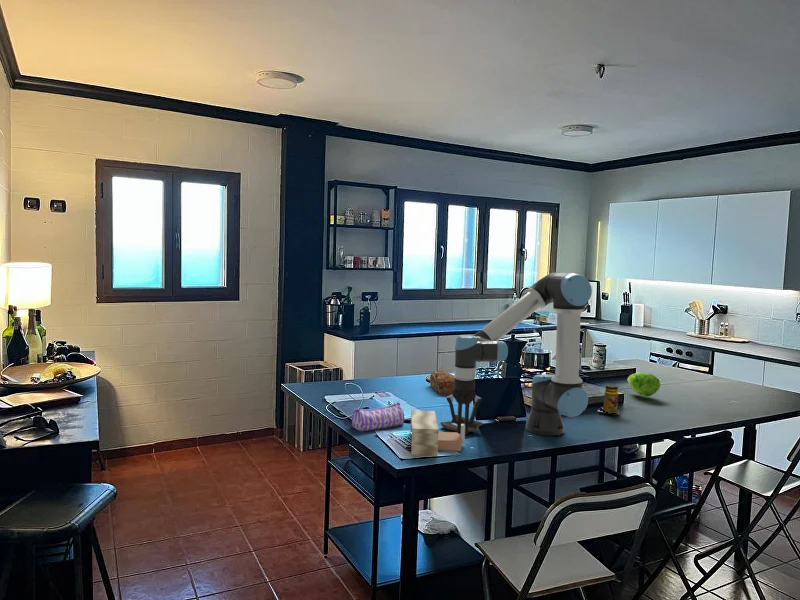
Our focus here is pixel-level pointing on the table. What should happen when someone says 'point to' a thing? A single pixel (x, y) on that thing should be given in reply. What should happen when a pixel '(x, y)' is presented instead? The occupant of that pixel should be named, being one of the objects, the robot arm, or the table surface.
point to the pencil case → (378, 418)
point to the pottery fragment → (452, 426)
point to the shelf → (424, 433)
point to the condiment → (610, 399)
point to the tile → (449, 441)
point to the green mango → (644, 383)
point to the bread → (442, 382)
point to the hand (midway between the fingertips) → (462, 442)
